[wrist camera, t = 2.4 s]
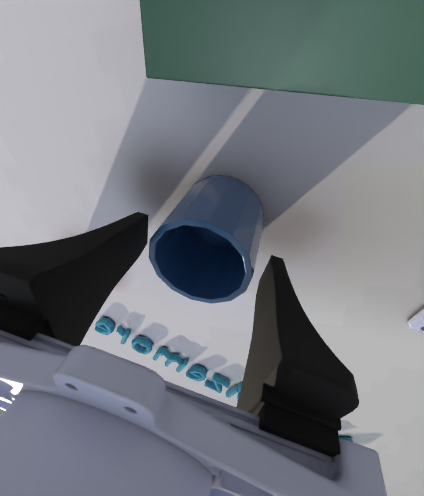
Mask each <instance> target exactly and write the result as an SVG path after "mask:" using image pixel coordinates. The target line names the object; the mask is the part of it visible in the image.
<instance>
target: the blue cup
mask: <svg viewBox="0 0 424 496" xmlns="http://www.w3.org/2000/svg"><path fill="white" fill-rule="evenodd" d="M262 228H263V209H262V205H261V202H260V200H259V198H258V197H257V195H256V194H255V193H254V191H253V190H252V189H251V188H250V187H248V186H247V185H246V184H244V183H243V182H241V181H239V180H237V179H234V178H231V177H227V176H212V177H208V178H205V179H203V180H200V181H199V182H197V183H196V184H195V185H193V186H192V188H191V189H190V190H189V191H188V193H187V194H186V195H185V196H184V197H183V199H182V200H181V201H180V202H179V204H178V205H177V206H176V207H175V209H174V210H173V211H172V212H171V214H170V215H169V216H168V217H167V218H166V220H165V221H164V222H163V223H162V225H161V226H160V227H159V228H158V230H157V231H156V232H155V234H154V235H153V236H152V238H151V239H150V243H149V259H150V261H151V263H152V265H153V268H154V270H155V272H156V274H157V275H158V277H159V278H161V279H162V280H163V281H164V282H165V283H166V284H167V285H168V286H169V287H170V288H171V289H172V290H174V291H176V292H178V293H179V294H181V295H183V296H185V297H187V298H189V299H191V300H196V301H201V302H206V303H219V302H226V301H231V300H233V299H234V298H236V297H238V296H239V295H241V294H242V293H244V292H245V291H246V290H247V288H248V285H249V283H250V281H251V279H252V276H253V273H254V268H255V263H256V258H257V253H258V248H259V243H260V238H261V233H262Z"/></svg>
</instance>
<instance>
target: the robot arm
mask: <svg viewBox="0 0 424 496" xmlns="http://www.w3.org/2000/svg"><path fill="white" fill-rule="evenodd" d="M147 238H148V215H146V214H143V213H140V212H137V213H134V214H132V215H129V216H127V217H125V218H123V219H120V220H118V221H116V222H113V223H111V224H108V225H106V226H103V227H101V228H98V229H95V230H93V231H90V232H87V233H84V234H80V235H77V236H73V237H69V238H65V239H60V240H56V241H51V242H46V243H39V244H32V245H25V246H14V247H2V248H0V408H1V409H3V410H5V411H4V412H3V413H2V415H1V416H0V496H387V494H386V489H385V484H384V479H383V475H382V470H381V465H380V460H379V455H378V453H377V452H376V451H375V450H372V449H370V448H367V447H364V446H362V445H359V444H356V443H354V442H351V441H348V440H339V437H338V430H341V420H340V418H342V417H343V416H345V415H347V414H349V413H350V412H352V411H353V410H355V409H356V408H357V407H358V404H359V399H358V393H357V388H356V384H355V380H354V377H353V374H352V373H351V372H350V371H349V370H348V369H347V368H346V367H345V366H344V364H343V363H342V362H341V361H340V360H339V359H338V358H337V357H336V356H335V354H334V353H333V352H332V351H331V350H330V348H329V347H328V346H327V345H326V343H325V342H324V341H323V339H322V338H321V337H320V335H319V334H318V332H317V331H316V330H315V328H314V327H313V325H312V324H311V322H310V321H309V319H308V317H307V315H306V314H305V312H304V310H303V308H302V306H301V304H300V302H299V300H298V298H297V296H296V294H295V291H294V289H293V286H292V284H291V281H290V279H289V276H288V273H287V270H286V267H285V264H284V261H283V259H282V258H279V257H276V256H273V255H272V256H271V258H270V260H269V262H268V264H267V266H266V268H265V270H264V272H263V274H262V276H261V279H260V281H259V285H258V290H257V294H256V302H255V312H254V323H253V333H252V340H251V345H250V350H249V355H248V359H247V364H246V369H245V373H244V378H243V382H242V387H241V391H240V395H239V399H238V403H237V407H233V406H230V405H228V404H225V403H222V402H220V401H217V400H215V399H212V398H209V397H207V396H204V395H201V394H199V393H196V392H194V391H191V390H188V389H186V388H183V387H180V386H178V385H175V384H172V383H170V382H167V381H165V380H163V378H162V377H161V376H160V375H158V374H157V373H156V372H155V371H153V370H151V369H149V368H147V367H145V366H142V365H139V364H137V363H134V362H131V361H129V360H126V359H124V358H121V357H118V356H116V355H113V354H110V353H108V352H105V351H102V350H100V349H97V348H94V347H91V346H87V345H80V344H81V342H82V340H83V338H84V336H85V334H86V333H87V331H88V329H89V327H90V326H91V324H92V322H93V320H94V319H95V317H96V315H97V314H98V312H99V310H100V309H101V307H102V305H103V304H104V302H105V301H106V299H107V298H108V296H109V295H110V293H111V291H112V290H113V289H114V287H115V286H116V285H117V283H118V282H119V281H120V280H121V278H122V277H123V276H124V275H125V273H126V272H127V271H128V270H129V269H130V267H131V266H132V265H133V264H134V262H135V261H136V260H137V259H138V257H139V256H140V254H141V253H142V251H143V249H144V248H145V246H146V244H147ZM408 325H409V327H410V328H411V329H413V330H416V331H419V332H422V333H424V309H422V310H421V311H420V312H419V313H417V314H416V315H415V316H414V317H412V318H411V319H410V320H409V321H408Z"/></svg>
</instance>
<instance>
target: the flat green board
mask: <svg viewBox="0 0 424 496" xmlns="http://www.w3.org/2000/svg"><path fill="white" fill-rule="evenodd" d="M140 9H141V20H142V32H143V43H144V54H145V66H146V76H147V78H155V79H165V80H175V81H186V82H196V83H206V84H216V85H227V86H237V87H247V88H257V89H268V90H278V91H288V92H299V93H309V94H319V95H329V96H340V97H350V98H360V99H370V100H381V101H391V102H401V103H411V104H422V105H424V0H140Z"/></svg>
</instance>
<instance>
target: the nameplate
mask: <svg viewBox="0 0 424 496" xmlns="http://www.w3.org/2000/svg"><path fill="white" fill-rule="evenodd" d="M114 328H115V327H114V323H113V322H112V321H110V320H109V319H108V318H104V317H102V318H101V319H99V320H98V321H97V322H96V327H95V330H96V331H97V332H99V333H102V334H105V335H108V334H110V333H112V332H113V331H114ZM116 332H118V333H119V334H120V335H121V336H122V337H123V338H122V340H121V344H124V343H125V342H126V340H127V338H128V336H129V333H130V330H129V329H127V330H125V329H124V328H123V327H122V326H121V325H120V326H118V328H117V331H116ZM138 343H139V344H138ZM140 344H143V345H144V346H145V347H143V346H141V345H140ZM132 348H133V349H134V350H136V351H137V352H139V353H142V354H147V353H150V351H151V350H152V342H151V341H149V340H148V339H147V338H144V337H141V336H138V337H136V338H134V339H133V340H132ZM160 355H164V356H165V357H166V358H167V361H166V362H165V366H168V365H169V364H170V363H171V362H177V363H178V364H179V366H178V367H177V370H176V371H177V372H180V371H181V370H182V369H183V368H184V367H185V366H186V365H187V363H188V359H186V358H185V359H184V360H183V359H182V358H181V357H180V356H179V355H178V354H172V353H171V352H170V351H169V350H168V349H167V348H163V347H162V348H160V349H159V350H158V351H157V352H156V354H155V355H154V357H153V360H155V361H156V360H157V359H158V357H159V356H160ZM206 374H207V370H205V369H204V368H203V367H202V366H198V365H195V366H192V367H191V368H190V370H188V371H187V372H186V376H187V377H189V378H190V379H193V380H196V381H202V380H204V379H205V378H206ZM222 385H223V386H225V387H227V388H228V387H229V385H230V381H229V380H227V379H225V378H223V377H221V376H219V375H217V374H214V375H213V382H212V381H210V380H208V379H207V380H206V381H205V386H207V387H209V388H211V389H213V390H215V391H217V392H218V393H221V391H222ZM241 387H242V383H241V382H240V383H239V384H238V385H235V386H233V387H232V388H230V389H229V390H227V392H226V397H228V398H229V397H230V396H232V395H234V394H236V393H237V392H238V391H239V390H240V391H241ZM239 395H240V392H239V393H238V396H237V401H238V399H239ZM339 440H348V441H351V442H353V441H352V439H351V438H346V437H339Z"/></svg>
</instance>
